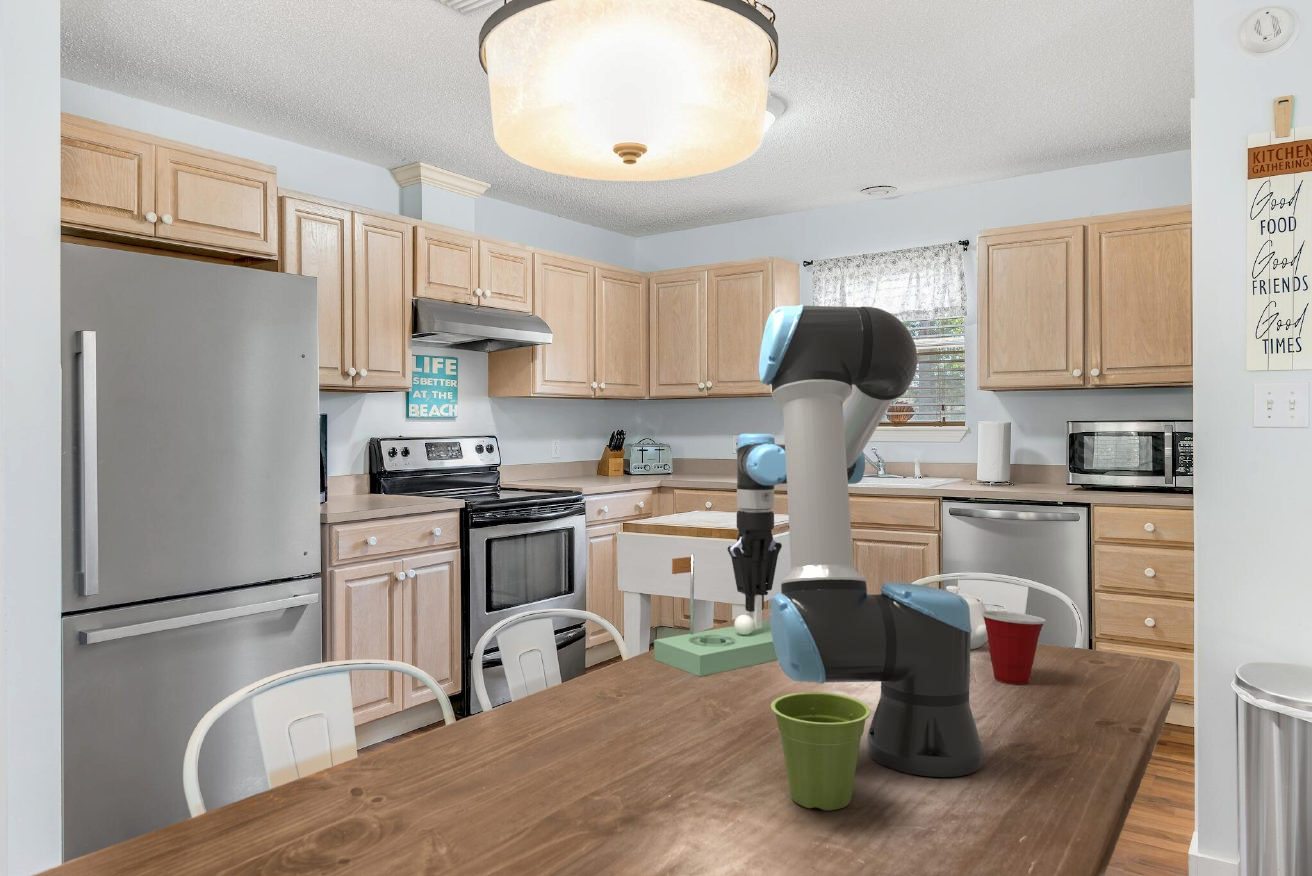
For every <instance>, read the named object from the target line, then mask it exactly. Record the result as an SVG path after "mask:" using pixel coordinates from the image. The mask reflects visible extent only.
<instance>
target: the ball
mask: <svg viewBox="0 0 1312 876" xmlns="http://www.w3.org/2000/svg"><path fill="white" fill-rule="evenodd" d="M733 623H734V624H733V626H734V627H735V630H736V631H737V632H738V633H739V634H741V635H748V634H750V633H751V632H752V631H753V629H754V621H753V619H752V618H751V617H750V616H748V615H747V614H741V615H738V616H736V618H735V620H734V622H733Z"/></svg>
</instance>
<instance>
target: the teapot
mask: <svg viewBox="0 0 1312 876" xmlns="http://www.w3.org/2000/svg"><path fill="white" fill-rule="evenodd" d="M945 590H946V591H949V592H952V593H955V594H957V595H959V596H961V597H963V598H964V599H965V600H966V601H967V603H968V605H969V609H970V624H971V629H972V633H971V641H970V650H975V649H979V648H981V647H982V646H983V645H984V644H985V643H987V642H988V635H987V631H986V625H985V620H984V618H983V616H982V611H988V610H987V608H986V606H985V604H984V602H983V601H982V599H981V598H979V597H976V596H973V595H968V594H962V593H958V592H959V591H960V590H961V588H960V587H959V586H957V585H947V586H946V587H945ZM993 611H1005V612H1009V611H1008V609H1005V608H1004V609H1003V608H996V609H995V608H994V610H993Z"/></svg>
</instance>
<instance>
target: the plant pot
mask: <svg viewBox="0 0 1312 876" xmlns="http://www.w3.org/2000/svg"><path fill="white" fill-rule="evenodd" d="M770 709H771V711H772V712H773V714H774V715H775V717H776V723H777V729H778V730H779V732H780V739H781V744H782V750H783V757H784V763H785V768H786V775H787V782H788V789H789V792H790V793H789V794H790V798H791V799H792V801H793V802H795V803H796V804H797V805H799V806H802V807H804V808H806V809H812V808H813V809H814V808H817V809H821V810H822V811H829V812H830V811H835V810H840V809H843V808H846V807H847V806H848V805H849V804H850V803H851V800H852V797H853V789H854V784H855V779H856V770H857V764H858V758H859V751H860V746H861V740H862V739H861V738H862V736H863V734H864V730H865V725H866V720H867V719H868V718H869V717H870V715H871V708H870V706H869V705H867V704H866V703H865V702H863V701H861V700H859V699H857V698H854V697H851V696H847V695H843V694H838V693H831V692H830V693H829V692H822V691H821V692H820V691H819V692H818V691H816V692H812V691H811V692H810V691H808V692H807V691H806V692H797V693H796V692H795V693H789V694H785V695H782V696H780V697H777V698H776V699H774V700H773V701H772V702H771V704H770Z"/></svg>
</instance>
